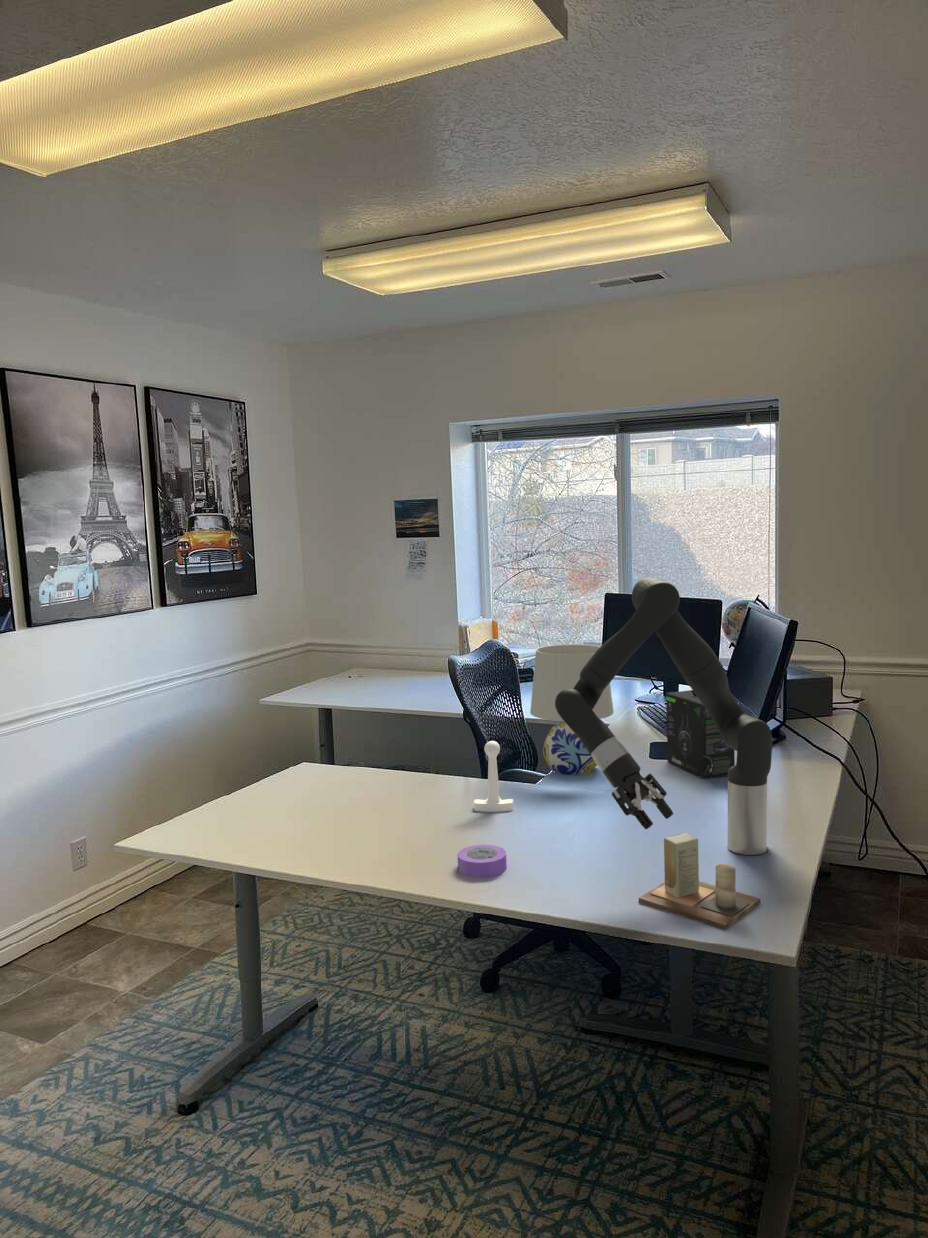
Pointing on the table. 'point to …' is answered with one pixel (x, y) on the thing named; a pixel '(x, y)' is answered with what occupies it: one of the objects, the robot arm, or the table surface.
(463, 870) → the masking tape
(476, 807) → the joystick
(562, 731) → the table lamp
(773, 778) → the table surface
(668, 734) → the headset box
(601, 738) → the robot arm
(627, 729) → the table surface
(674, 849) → the skincare box
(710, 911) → the board
